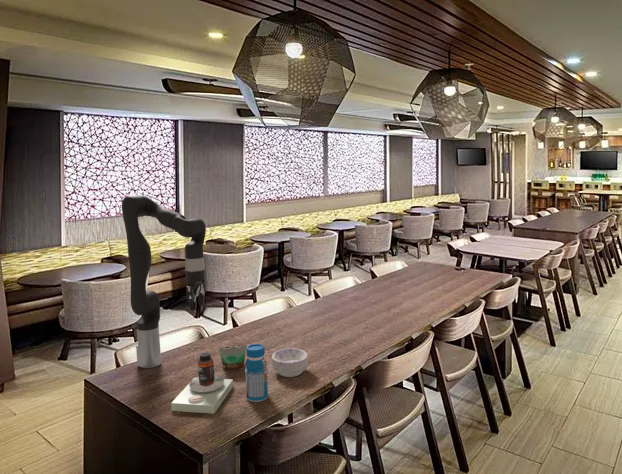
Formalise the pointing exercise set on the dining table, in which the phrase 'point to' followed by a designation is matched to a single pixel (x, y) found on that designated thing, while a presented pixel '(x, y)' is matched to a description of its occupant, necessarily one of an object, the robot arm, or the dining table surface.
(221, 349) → the food container
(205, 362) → the supplement bottle
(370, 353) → the dining table surface
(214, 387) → the scale pan
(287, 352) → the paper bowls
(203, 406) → the scale base
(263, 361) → the beverage bottle
